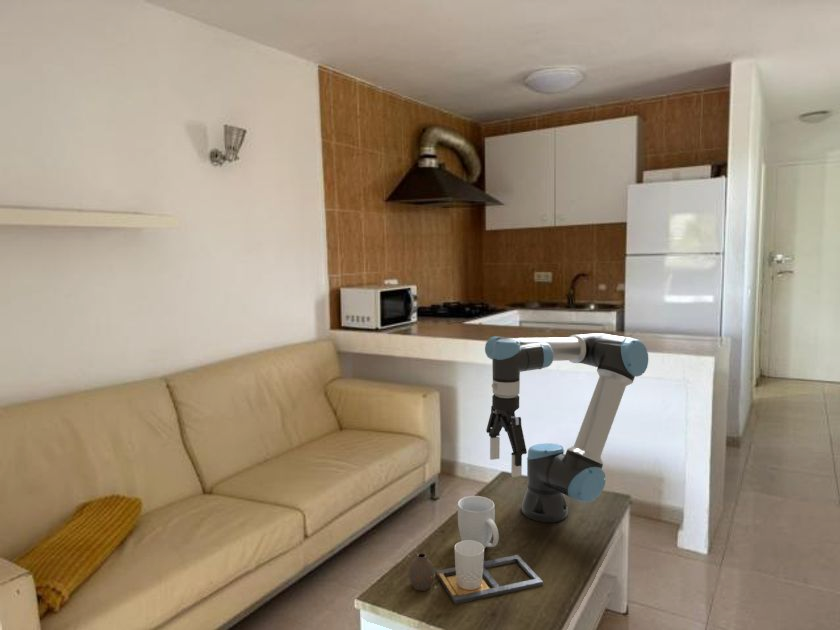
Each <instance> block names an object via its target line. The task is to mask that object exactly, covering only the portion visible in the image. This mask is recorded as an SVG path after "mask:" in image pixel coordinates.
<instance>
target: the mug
mask: <svg viewBox="0 0 840 630" xmlns="http://www.w3.org/2000/svg"><path fill="white" fill-rule="evenodd" d="M495 512H496V511H495V503H494V501H493V500H492V499H489V498H488V497H485V496H479V495H470V496H468V495H467V496H465V497H462V498H460V499H459V500H458V501H457V525H458V531H459V535H460V538H461V541H464V540H473V541H477V542H479V543H481V544H482V545H483V546H484V549H486V548H487V547H488V548H495V547H496V546H497V545H498V544H499V543H498V542H499V539H500V538H499V537H500V536H499V530H498V527H497V524H496V523H495V519H496V516H495ZM492 539H493V541H492ZM491 541H492V543H491Z"/></svg>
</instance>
